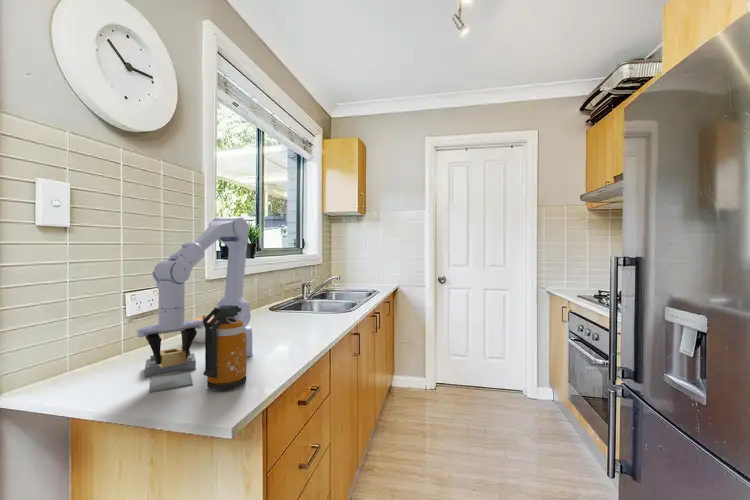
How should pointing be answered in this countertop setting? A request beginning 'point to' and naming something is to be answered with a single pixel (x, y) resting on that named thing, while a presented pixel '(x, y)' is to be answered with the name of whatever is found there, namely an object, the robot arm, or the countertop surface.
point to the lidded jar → (200, 330)
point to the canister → (225, 349)
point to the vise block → (155, 369)
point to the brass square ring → (172, 357)
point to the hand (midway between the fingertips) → (171, 360)
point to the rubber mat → (170, 382)
